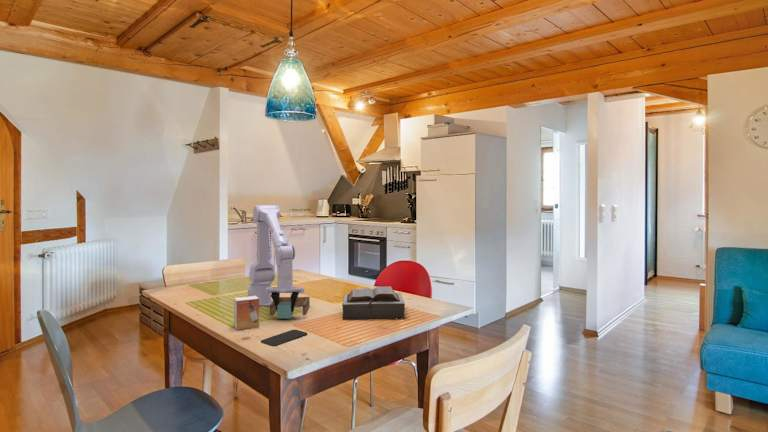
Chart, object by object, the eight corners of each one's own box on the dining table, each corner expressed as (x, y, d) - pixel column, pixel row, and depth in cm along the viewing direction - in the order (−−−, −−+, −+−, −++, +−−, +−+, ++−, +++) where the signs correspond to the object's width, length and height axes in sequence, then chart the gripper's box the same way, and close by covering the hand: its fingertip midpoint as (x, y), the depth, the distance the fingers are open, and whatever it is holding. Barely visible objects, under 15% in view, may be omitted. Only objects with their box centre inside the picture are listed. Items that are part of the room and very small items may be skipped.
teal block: (277, 318, 165) (277, 305, 165) (280, 314, 170) (279, 302, 170) (290, 318, 165) (290, 305, 165) (292, 314, 170) (292, 302, 170)
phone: (259, 340, 141) (294, 328, 153) (259, 343, 141) (294, 331, 153) (273, 345, 136) (309, 333, 149) (273, 348, 137) (309, 335, 149)
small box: (236, 330, 153) (235, 300, 152) (233, 326, 158) (233, 297, 157) (259, 327, 156) (259, 298, 156) (256, 323, 161) (256, 295, 161)
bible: (403, 323, 163) (403, 297, 162) (333, 320, 166) (333, 295, 166) (408, 307, 186) (408, 284, 185) (346, 305, 189) (346, 282, 189)
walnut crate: (269, 315, 172) (269, 305, 172) (276, 306, 186) (276, 297, 185) (305, 314, 173) (305, 304, 173) (309, 306, 186) (309, 296, 186)
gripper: (263, 278, 162) (263, 314, 163) (302, 278, 163) (302, 314, 164) (267, 275, 169) (267, 309, 170) (305, 275, 170) (305, 309, 171)
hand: (285, 311), depth 167 cm, fingers closed on teal block, 5 cm apart
